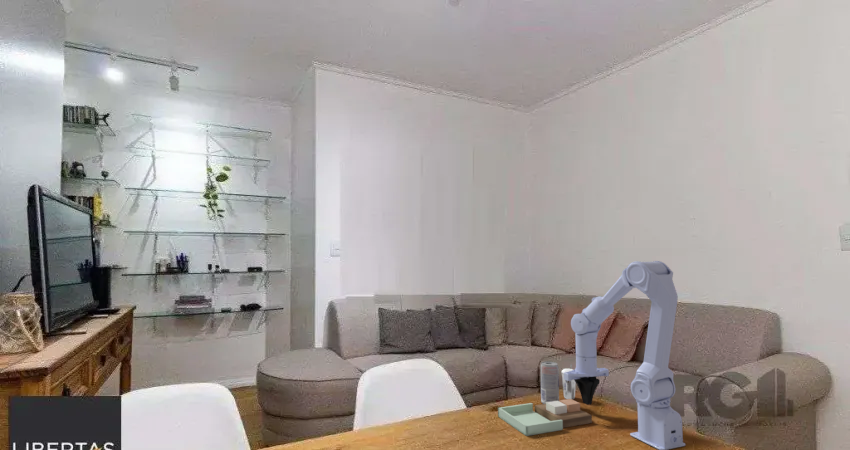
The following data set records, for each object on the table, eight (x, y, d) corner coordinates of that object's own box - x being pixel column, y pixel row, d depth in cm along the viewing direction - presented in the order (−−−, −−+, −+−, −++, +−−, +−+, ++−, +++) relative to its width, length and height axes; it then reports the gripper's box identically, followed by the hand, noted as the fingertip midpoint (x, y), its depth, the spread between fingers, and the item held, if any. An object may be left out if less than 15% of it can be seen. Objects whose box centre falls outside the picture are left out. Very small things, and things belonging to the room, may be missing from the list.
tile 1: (566, 412, 121) (566, 405, 121) (555, 414, 120) (554, 407, 120) (557, 407, 125) (557, 400, 125) (546, 409, 123) (545, 402, 123)
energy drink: (557, 400, 137) (556, 361, 138) (560, 406, 132) (560, 365, 132) (539, 399, 137) (539, 361, 138) (542, 405, 132) (542, 365, 133)
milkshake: (579, 396, 141) (578, 364, 141) (575, 401, 136) (574, 368, 137) (564, 393, 143) (564, 362, 144) (560, 398, 138) (559, 366, 139)
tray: (562, 429, 114) (562, 420, 114) (526, 436, 110) (526, 426, 110) (531, 411, 127) (531, 402, 128) (497, 416, 123) (497, 407, 124)
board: (591, 422, 119) (591, 415, 119) (561, 428, 115) (561, 420, 116) (563, 408, 130) (563, 401, 130) (534, 412, 127) (534, 405, 127)
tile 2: (580, 410, 123) (579, 403, 123) (568, 412, 121) (568, 405, 121) (570, 405, 126) (570, 398, 126) (559, 407, 125) (559, 400, 125)
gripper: (596, 350, 133) (597, 396, 132) (556, 354, 128) (557, 401, 127) (613, 355, 126) (614, 403, 126) (572, 360, 121) (573, 410, 121)
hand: (587, 403), depth 126 cm, fingers closed
